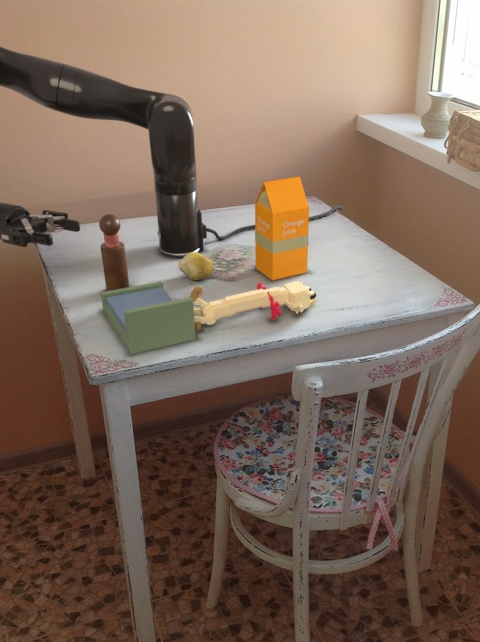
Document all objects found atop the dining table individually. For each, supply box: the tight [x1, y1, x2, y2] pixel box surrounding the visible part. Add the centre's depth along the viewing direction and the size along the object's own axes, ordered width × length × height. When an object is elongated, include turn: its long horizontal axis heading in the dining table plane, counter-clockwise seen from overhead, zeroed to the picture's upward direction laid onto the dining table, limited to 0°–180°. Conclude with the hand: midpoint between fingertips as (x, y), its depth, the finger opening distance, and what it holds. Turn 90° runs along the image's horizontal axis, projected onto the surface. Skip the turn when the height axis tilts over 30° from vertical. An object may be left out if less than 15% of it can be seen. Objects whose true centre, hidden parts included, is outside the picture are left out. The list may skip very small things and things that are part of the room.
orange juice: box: [254, 175, 310, 281], centre depth 148 cm, size 8×9×20 cm
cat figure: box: [189, 280, 319, 332], centre depth 132 cm, size 10×9×25 cm
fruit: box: [177, 252, 225, 281], centre depth 148 cm, size 6×6×10 cm
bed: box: [100, 281, 197, 355], centre depth 129 cm, size 12×18×8 cm, turn 27°
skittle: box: [98, 213, 130, 291], centre depth 138 cm, size 5×5×16 cm
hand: (65, 233), depth 140 cm, fingers open, 8 cm apart
